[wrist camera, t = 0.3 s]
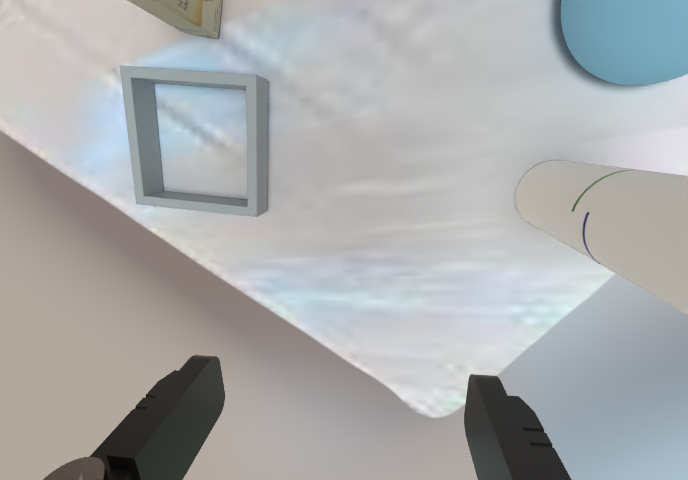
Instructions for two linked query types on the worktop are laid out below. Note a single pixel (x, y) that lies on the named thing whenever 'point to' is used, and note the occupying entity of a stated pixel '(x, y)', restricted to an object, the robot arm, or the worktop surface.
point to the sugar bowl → (628, 38)
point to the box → (148, 148)
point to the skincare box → (186, 14)
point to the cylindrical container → (615, 220)
